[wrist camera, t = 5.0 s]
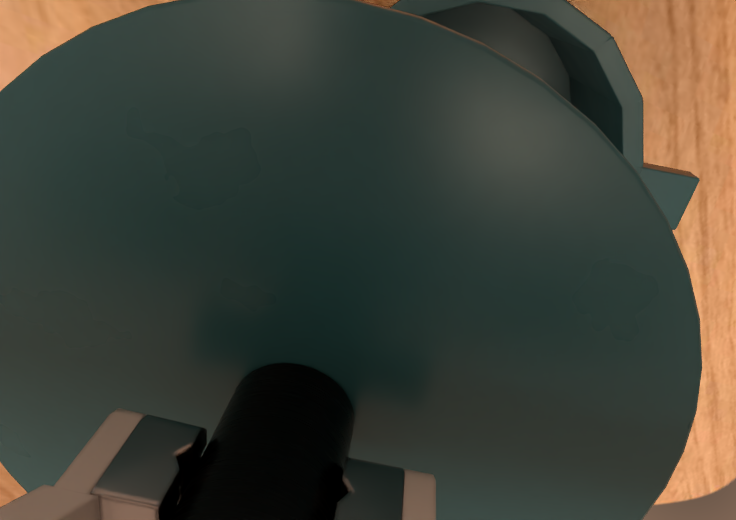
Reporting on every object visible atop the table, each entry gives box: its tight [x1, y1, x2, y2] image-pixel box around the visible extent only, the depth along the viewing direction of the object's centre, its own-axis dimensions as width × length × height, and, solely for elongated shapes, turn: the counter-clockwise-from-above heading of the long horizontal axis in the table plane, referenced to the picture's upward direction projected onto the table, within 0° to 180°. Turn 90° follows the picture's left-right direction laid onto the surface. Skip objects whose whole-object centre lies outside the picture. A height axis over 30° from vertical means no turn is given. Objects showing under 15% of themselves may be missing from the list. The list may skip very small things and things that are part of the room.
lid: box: [0, 0, 702, 520], centre depth 9 cm, size 15×15×6 cm
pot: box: [390, 0, 699, 230], centre depth 26 cm, size 14×19×10 cm
